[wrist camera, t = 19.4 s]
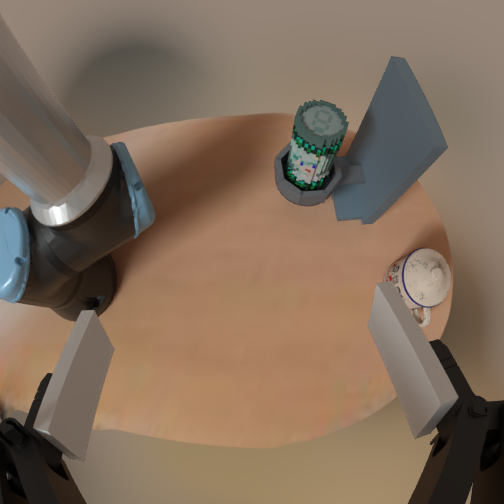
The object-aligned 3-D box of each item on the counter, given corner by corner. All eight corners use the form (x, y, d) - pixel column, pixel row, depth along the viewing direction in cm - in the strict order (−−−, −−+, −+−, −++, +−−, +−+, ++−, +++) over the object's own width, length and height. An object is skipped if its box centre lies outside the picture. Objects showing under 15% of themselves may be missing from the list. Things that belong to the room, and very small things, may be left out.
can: (280, 186, 47) (289, 129, 33) (292, 155, 49) (304, 94, 34) (318, 199, 47) (341, 147, 32) (328, 168, 48) (351, 110, 33)
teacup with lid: (377, 262, 50) (406, 245, 39) (420, 257, 50) (455, 239, 39) (386, 331, 48) (419, 331, 36) (430, 322, 48) (467, 319, 36)
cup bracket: (279, 232, 52) (297, 146, 27) (269, 159, 55) (275, 50, 30) (375, 223, 52) (451, 147, 27) (358, 154, 55) (407, 58, 30)
